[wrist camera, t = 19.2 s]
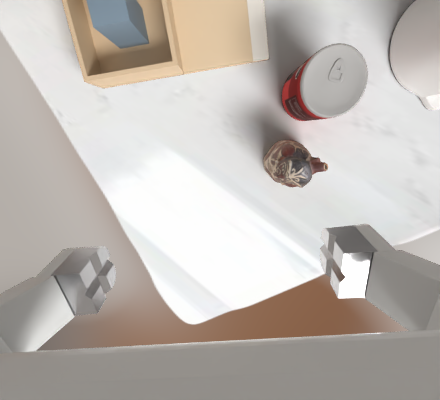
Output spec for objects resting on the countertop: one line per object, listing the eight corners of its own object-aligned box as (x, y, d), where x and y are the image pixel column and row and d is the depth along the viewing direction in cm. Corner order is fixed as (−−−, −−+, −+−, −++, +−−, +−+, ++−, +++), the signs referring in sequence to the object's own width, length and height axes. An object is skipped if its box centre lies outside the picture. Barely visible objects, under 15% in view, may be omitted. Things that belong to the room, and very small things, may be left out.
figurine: (261, 143, 41) (275, 149, 29) (303, 136, 41) (335, 138, 29) (266, 184, 43) (282, 204, 31) (307, 177, 42) (338, 195, 31)
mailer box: (258, -54, 34) (264, -89, 28) (268, 59, 38) (275, 47, 32) (75, -18, 35) (49, -44, 30) (103, 88, 39) (84, 81, 34)
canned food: (330, 64, 38) (371, 38, 27) (328, 119, 40) (365, 115, 29) (280, 69, 38) (301, 45, 27) (280, 123, 40) (301, 120, 29)
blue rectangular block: (142, 8, 35) (119, -26, 28) (149, 43, 37) (129, 20, 29) (112, 14, 36) (81, -18, 28) (120, 48, 37) (93, 27, 29)
